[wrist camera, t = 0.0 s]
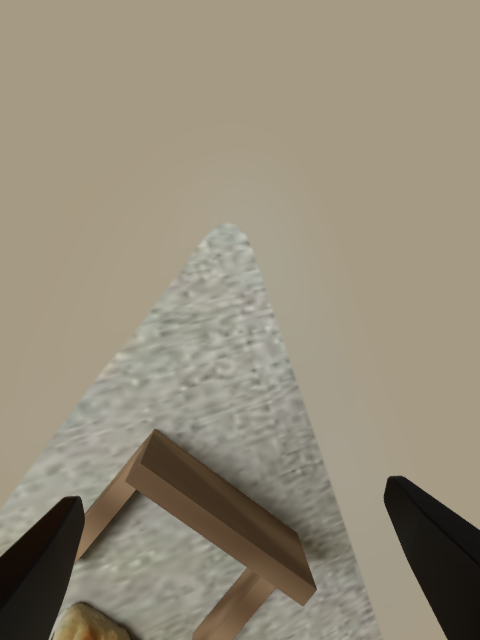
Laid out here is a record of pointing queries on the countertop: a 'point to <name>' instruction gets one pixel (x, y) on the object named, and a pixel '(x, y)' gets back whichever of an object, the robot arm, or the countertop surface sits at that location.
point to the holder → (210, 529)
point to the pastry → (86, 625)
